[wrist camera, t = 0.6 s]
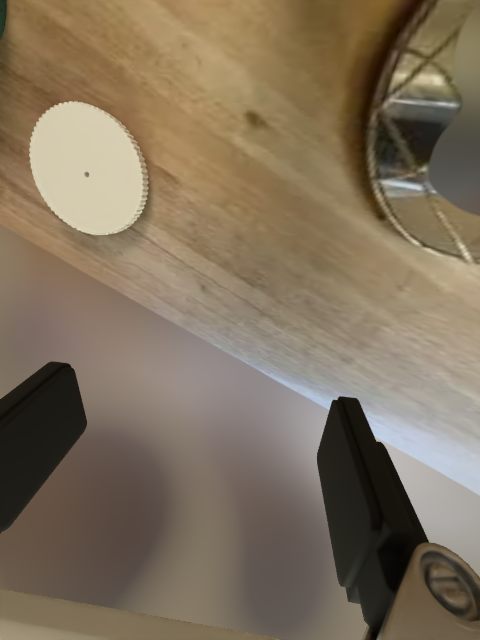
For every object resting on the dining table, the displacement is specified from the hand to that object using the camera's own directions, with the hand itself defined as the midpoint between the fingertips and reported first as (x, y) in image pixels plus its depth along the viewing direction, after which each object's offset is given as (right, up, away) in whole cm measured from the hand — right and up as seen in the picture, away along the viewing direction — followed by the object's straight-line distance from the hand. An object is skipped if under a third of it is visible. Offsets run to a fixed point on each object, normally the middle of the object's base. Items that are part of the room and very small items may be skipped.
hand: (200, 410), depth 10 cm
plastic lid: (-17, +22, +25) cm, 37 cm away
